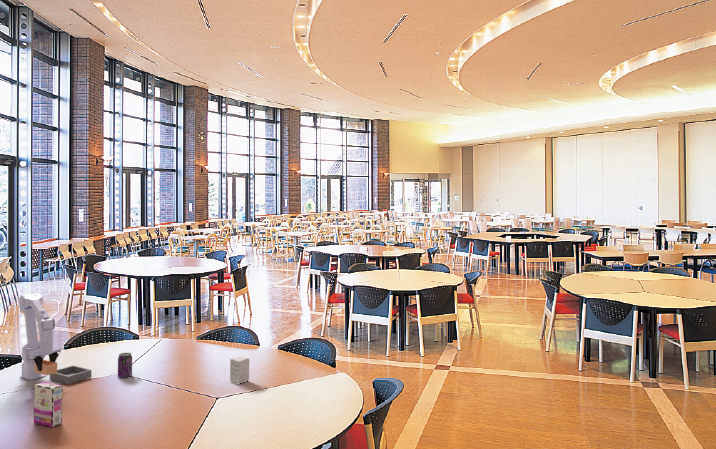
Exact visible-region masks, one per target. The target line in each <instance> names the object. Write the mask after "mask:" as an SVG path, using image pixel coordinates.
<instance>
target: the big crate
mask: <svg viewBox="0 0 716 449" xmlns="http://www.w3.org/2000/svg"><path fill="white" fill-rule="evenodd" d="M90 378H92V369H90V368H85V367H82V366H77V365H69V366H65V367H63V368H59V369H58V368H57V373H54V374H50V375H49V379H50V380H52V381H54V382H59V383H62V384H66V385H70V384H74V383H77V382H80V381H83V380H87V379H90Z"/></svg>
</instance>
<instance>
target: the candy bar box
mask: <svg viewBox="0 0 716 449" xmlns="http://www.w3.org/2000/svg"><path fill="white" fill-rule="evenodd" d="M63 387H64V386H63V385H62V384H57V383H52V382H47V381H44V382H39V383H37V384H36V383H35V384H34V388H33V389H34V392H33V393H34V394H33V400H34V401H33V423H34V424H36V423H38V424H37V425H40V424H41V425H40V426H44V425H45V427H48V426H49V428H55V427H57V426H60V425H62V424H63V395H64V394H63V391H64V390H63V389H64V388H63ZM54 426H55V427H54Z"/></svg>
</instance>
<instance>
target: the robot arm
mask: <svg viewBox="0 0 716 449" xmlns="http://www.w3.org/2000/svg"><path fill="white" fill-rule="evenodd" d="M43 303H44V297H43V294H42V293H41V292H39V293H32V294H31V293H30V294H21V295H20V296H19V297H18V306H19V310H20V312H22V313H23V315H24V322H25V333H26V341H27V343H25V345H23V346H22V348H21V359H22V361H23V362H22V364H21V376H19V378H20V379H24V380H27V381H33V380H37V379H41V378H44V377H46V375H43V374H39V373H36V372H34V369H35V363H36V365H37V369H38V371H42V362H43V360H44V359H45V357H46V356H48V359H49V360H48V361H52V362H56V361H57V359H58V357H59V356H60V353H61V352H62V348H61V347H55V348H53V346H54V345H53V343H54V340H53V339H54V335H53V334H54V330H55V328H56V322H55V319H54V318H53V317H51V316H50V314H49V313H48V311H47V310H46V309H44V308H43V305H42V304H43ZM38 335H39V338H38Z"/></svg>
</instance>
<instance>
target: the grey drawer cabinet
mask: <svg viewBox="0 0 716 449" xmlns="http://www.w3.org/2000/svg"><path fill="white" fill-rule="evenodd" d="M229 360H230V364H229V366H230V367H229V370H230V371H229V382H230V381H231V382H230V383H232V382H234V383H233V384H235V383H238V384H240V383H243V382H245V381H248V380H249V381H250V358H249V357H247V356H242V355H239V356H236V357H233V358H230V359H229ZM249 381H248V382H249ZM245 383H246V382H245ZM238 384H237V385H238ZM243 384H244V383H243ZM240 385H241V384H240Z"/></svg>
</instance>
